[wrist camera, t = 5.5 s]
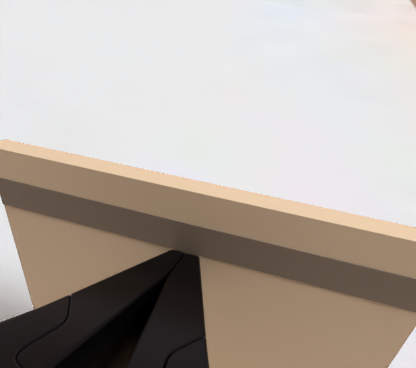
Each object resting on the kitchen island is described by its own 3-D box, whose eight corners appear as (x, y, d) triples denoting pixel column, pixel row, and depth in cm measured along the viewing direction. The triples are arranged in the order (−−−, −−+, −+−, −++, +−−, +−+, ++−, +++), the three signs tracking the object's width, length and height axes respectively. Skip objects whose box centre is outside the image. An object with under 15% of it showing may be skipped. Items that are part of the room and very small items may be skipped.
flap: (322, 465, 12) (465, 253, 6) (49, 364, 14) (-14, 146, 9) (321, 444, 12) (452, 234, 7) (58, 351, 15) (5, 139, 9)
